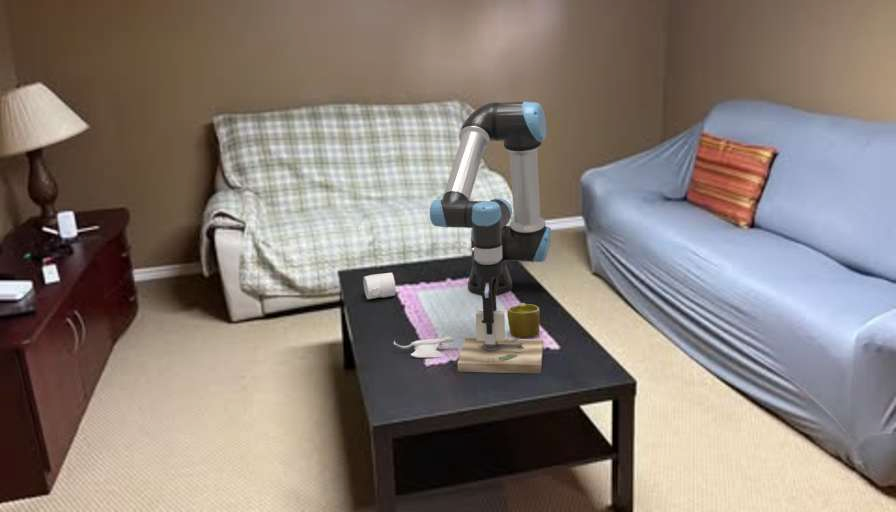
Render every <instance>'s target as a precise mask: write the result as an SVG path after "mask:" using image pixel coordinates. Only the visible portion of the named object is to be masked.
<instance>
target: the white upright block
mask: <svg viewBox="0 0 896 512" xmlns="http://www.w3.org/2000/svg"><path fill="white" fill-rule="evenodd" d="M505 319H506V318H505V310H496V311H494V321H495V344H483V345H482V349H483V350H485V351H497V350H499V349H500V347H522V344H498V343H497V341H505V339H506V325H505V324H506V323H505V322H506V321H505ZM482 320H484V319H483V310H476V312H475V325H476V326H475V330H476V331H475V333H476V338H477V341H485V324H484V323H482Z"/></svg>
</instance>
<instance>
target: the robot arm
mask: <svg viewBox="0 0 896 512" xmlns="http://www.w3.org/2000/svg"><path fill="white" fill-rule="evenodd" d="M546 138H547V121H546V115H545V111H544V109H543V106H542V105H541V104H540V103H539V102H532V101H530V102H529V101H512V102H511V101H509V102H506V101H505V102H496V101H495V102H489V103H485V104H483V105H481V106H480V107H478V108H476V109H475V110H474V111H473V112H472V113H470V114H469V116H468V117H467V118H466V119H465V121H464V123H463V124H462V126H461V128H460V131H459V134H458V139H459V146H458V148H457V152H456V155H455V157H454V161H453V163H452V168H451V170H450V173H449V176H448V180H447V182H446V186H445V189H444V193H443V196H442V199H435V200H433V201H432V202H431V204H430V207H429V218H430V222H431V224H432V225H433V226H434V227H439V228H440V227H441V228H447V229H448V228H462V229H463V228H465V229H466V228H467V229H468V228H469V229H471V230H470V244H471V245H470V246H471V247H470V248H471V250H470V251H471V265H472V266H471V269H470V270H471V271H470V275H469V277H468V280H467V289H468V291H469V292H470V293H472V294H474V295H479V296H481V299H482V311H483V319H484V320H482V323H484V324H485V344H495V321H494V311H497V310H498V307H497V295H498V296H500V295H503V293H504V294H507V293H509V292H510V291H511V290H513V280H512V277H511V275H510V271H509V270H508V267H507V262H508V261H509V262H528V263H529V262H530V263H541V262H542V263H543V262H544V261H546V260H547V258H548V255H549V251H550V245H551V238H552V228H551V227H549V226H547V225H546V220H545V219H544V218H543V217H541V203H540V202H541V201H540V187H539V167H538V165H539V164H538V149H540V147H541V146H542V142H544V141H545V139H546ZM492 141H494V142H503V148H504V149H505V150H506V151H507V152H508V153H509V155H508V156H509V168H510V181H511V194H512V205H511V204H510V203H509V202H508V201H507V199H504V198H501V197H496V198H493V199H491V200H490V201H489V200H488V201H487V200H470V199H471V196H472V191H473V189H474V185H475V181H476V179H477V175H478V172H479V169H480V165H481V162H482V158H483V155H484V151H485V149H487V148H488V147H489V146H490V143H491V142H492ZM512 214H513V219H512V220H510V219H511V218H512ZM508 223H509V225H507V224H508Z"/></svg>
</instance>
